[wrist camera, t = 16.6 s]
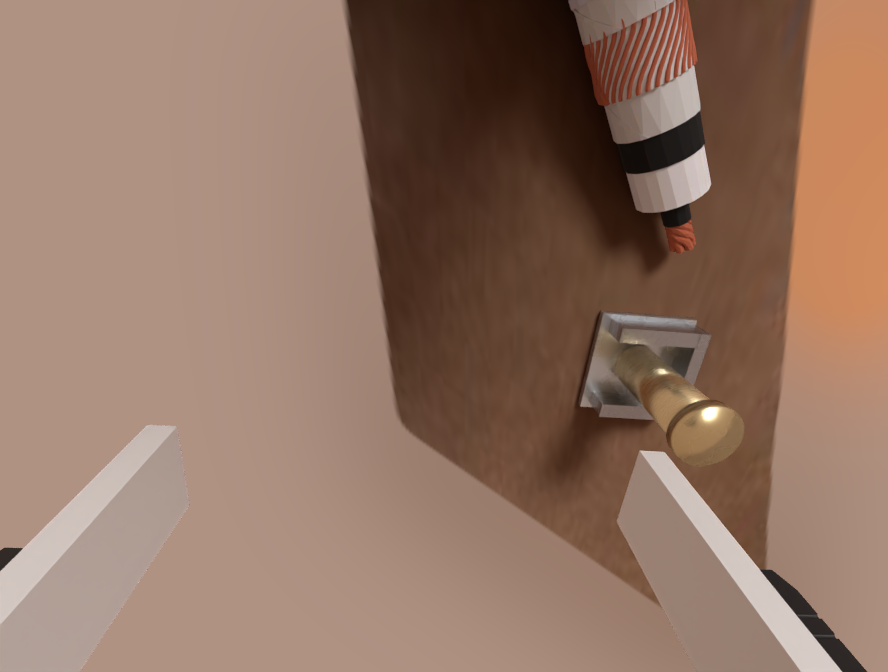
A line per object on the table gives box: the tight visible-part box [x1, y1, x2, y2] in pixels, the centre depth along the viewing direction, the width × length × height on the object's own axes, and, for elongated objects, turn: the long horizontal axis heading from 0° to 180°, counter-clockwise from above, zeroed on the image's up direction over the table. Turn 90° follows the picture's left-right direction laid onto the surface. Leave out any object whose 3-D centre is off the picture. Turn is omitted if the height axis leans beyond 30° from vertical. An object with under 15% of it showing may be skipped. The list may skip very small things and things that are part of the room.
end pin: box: [614, 346, 744, 466], centre depth 41 cm, size 6×6×13 cm
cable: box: [568, 0, 711, 253], centre depth 33 cm, size 10×34×10 cm, turn 27°
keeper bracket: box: [578, 311, 711, 420], centre depth 46 cm, size 11×10×4 cm
